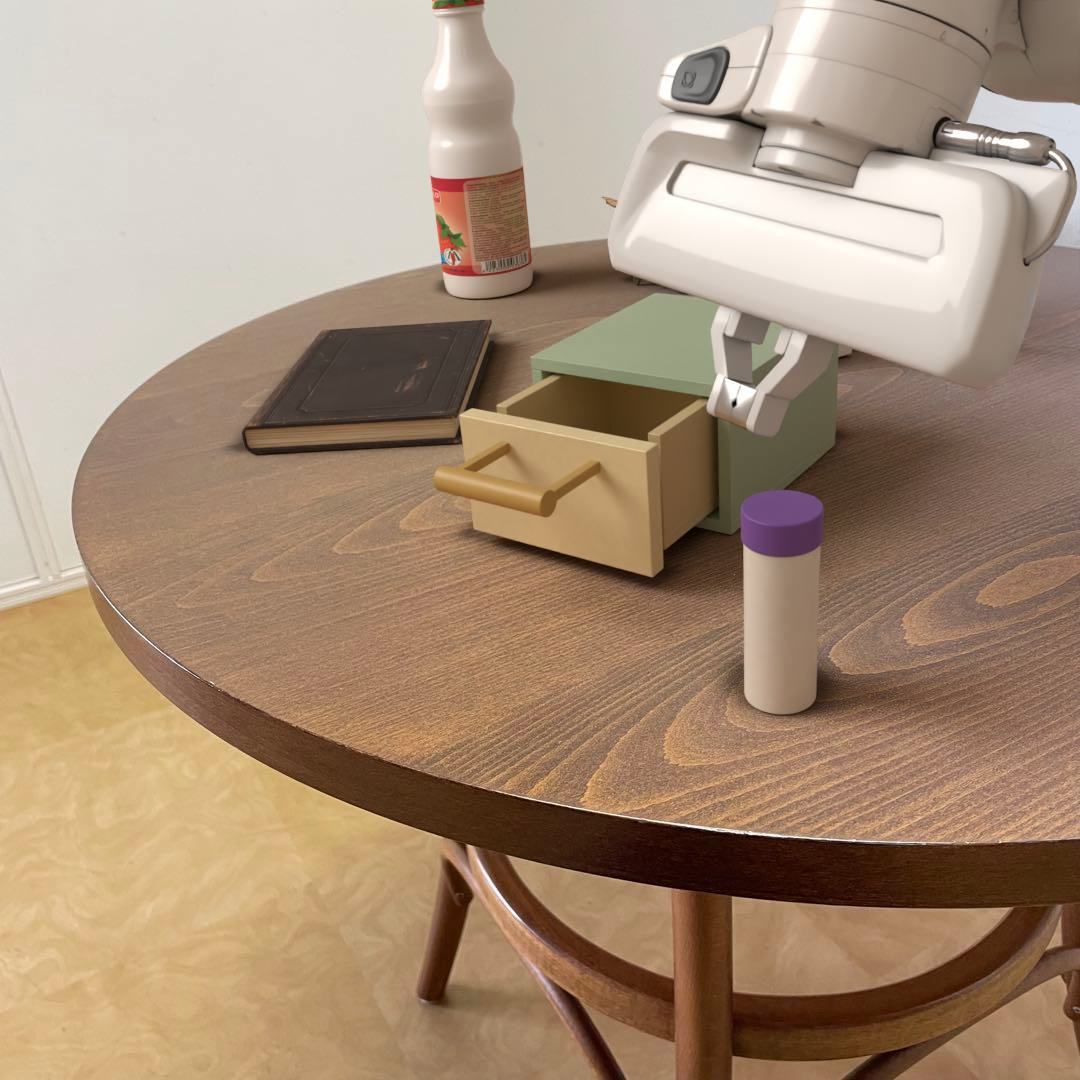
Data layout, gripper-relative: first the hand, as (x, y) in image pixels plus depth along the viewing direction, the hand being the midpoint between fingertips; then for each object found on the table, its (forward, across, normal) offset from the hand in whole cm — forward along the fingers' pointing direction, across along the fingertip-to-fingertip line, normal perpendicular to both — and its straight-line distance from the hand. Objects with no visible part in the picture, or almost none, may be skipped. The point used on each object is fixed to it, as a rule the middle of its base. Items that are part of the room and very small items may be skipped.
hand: (739, 425), depth 50 cm
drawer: (+9, +13, -7) cm, 18 cm away
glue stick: (+11, -5, -3) cm, 12 cm away
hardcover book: (+11, +45, -13) cm, 48 cm away
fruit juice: (+2, +65, -36) cm, 74 cm away
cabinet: (+6, +16, -17) cm, 24 cm away
